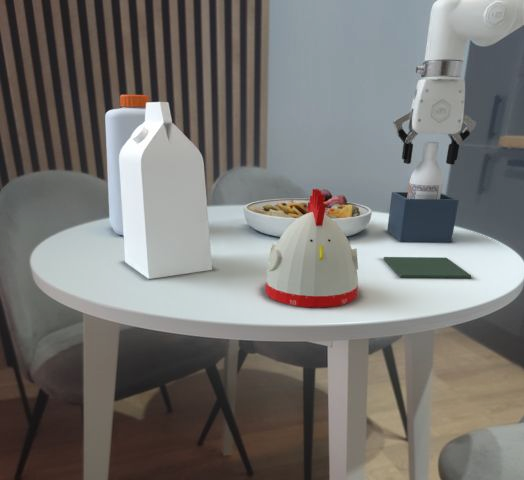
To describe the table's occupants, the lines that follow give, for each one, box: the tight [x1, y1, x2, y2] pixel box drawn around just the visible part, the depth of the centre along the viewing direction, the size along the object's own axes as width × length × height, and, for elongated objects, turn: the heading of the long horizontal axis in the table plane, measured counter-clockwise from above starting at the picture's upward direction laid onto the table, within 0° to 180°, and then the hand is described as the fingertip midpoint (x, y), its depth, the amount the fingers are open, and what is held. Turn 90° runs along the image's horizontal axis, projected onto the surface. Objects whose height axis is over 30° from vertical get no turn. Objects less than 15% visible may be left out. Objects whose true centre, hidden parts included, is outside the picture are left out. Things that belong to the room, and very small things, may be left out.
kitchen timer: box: [265, 188, 359, 308], centre depth 73 cm, size 14×14×15 cm
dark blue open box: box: [386, 191, 460, 243], centre depth 112 cm, size 11×11×9 cm
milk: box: [119, 101, 213, 280], centre depth 83 cm, size 12×12×26 cm
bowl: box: [243, 188, 372, 238], centre depth 118 cm, size 30×30×8 cm
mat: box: [383, 256, 472, 279], centre depth 89 cm, size 12×12×1 cm
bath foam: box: [407, 141, 443, 199], centre depth 110 cm, size 7×7×20 cm
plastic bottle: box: [104, 94, 150, 237], centre depth 110 cm, size 15×15×28 cm
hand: (428, 163), depth 107 cm, fingers open, 9 cm apart
